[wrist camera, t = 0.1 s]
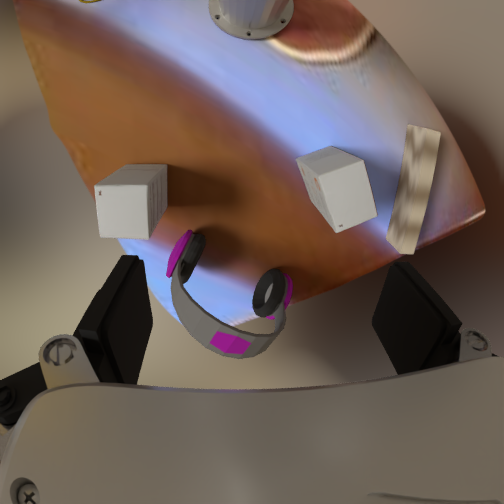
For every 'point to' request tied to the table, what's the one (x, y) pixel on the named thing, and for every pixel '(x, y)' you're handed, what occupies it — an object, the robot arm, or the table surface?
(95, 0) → the extension cord
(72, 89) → the table surface
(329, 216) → the small box
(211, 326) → the headphones
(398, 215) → the birch board
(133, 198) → the supplement box
